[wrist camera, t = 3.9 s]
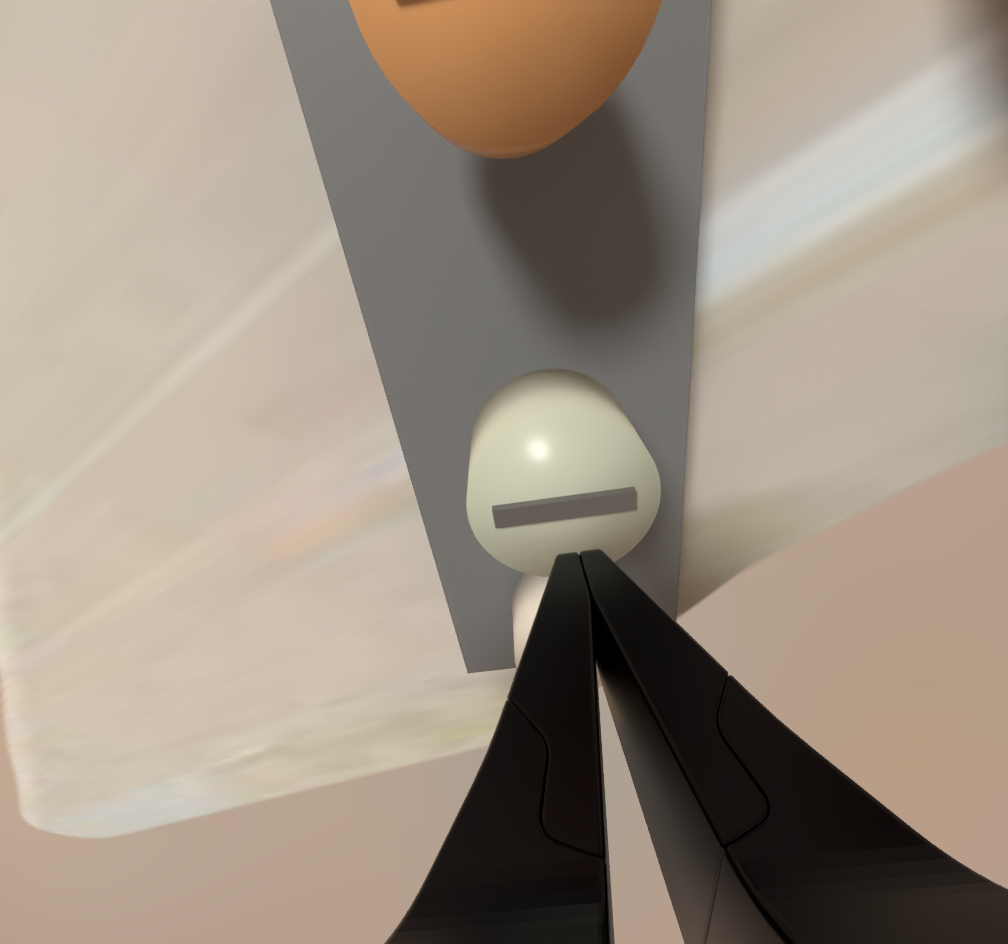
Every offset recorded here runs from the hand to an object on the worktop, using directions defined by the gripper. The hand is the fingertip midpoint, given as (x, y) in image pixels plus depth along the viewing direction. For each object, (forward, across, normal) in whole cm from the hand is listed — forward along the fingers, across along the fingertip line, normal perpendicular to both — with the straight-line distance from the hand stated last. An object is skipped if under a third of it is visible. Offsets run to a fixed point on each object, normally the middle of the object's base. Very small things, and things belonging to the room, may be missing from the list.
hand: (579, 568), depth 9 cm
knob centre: (+9, 0, 0) cm, 9 cm away
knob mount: (+12, 0, 0) cm, 12 cm away
